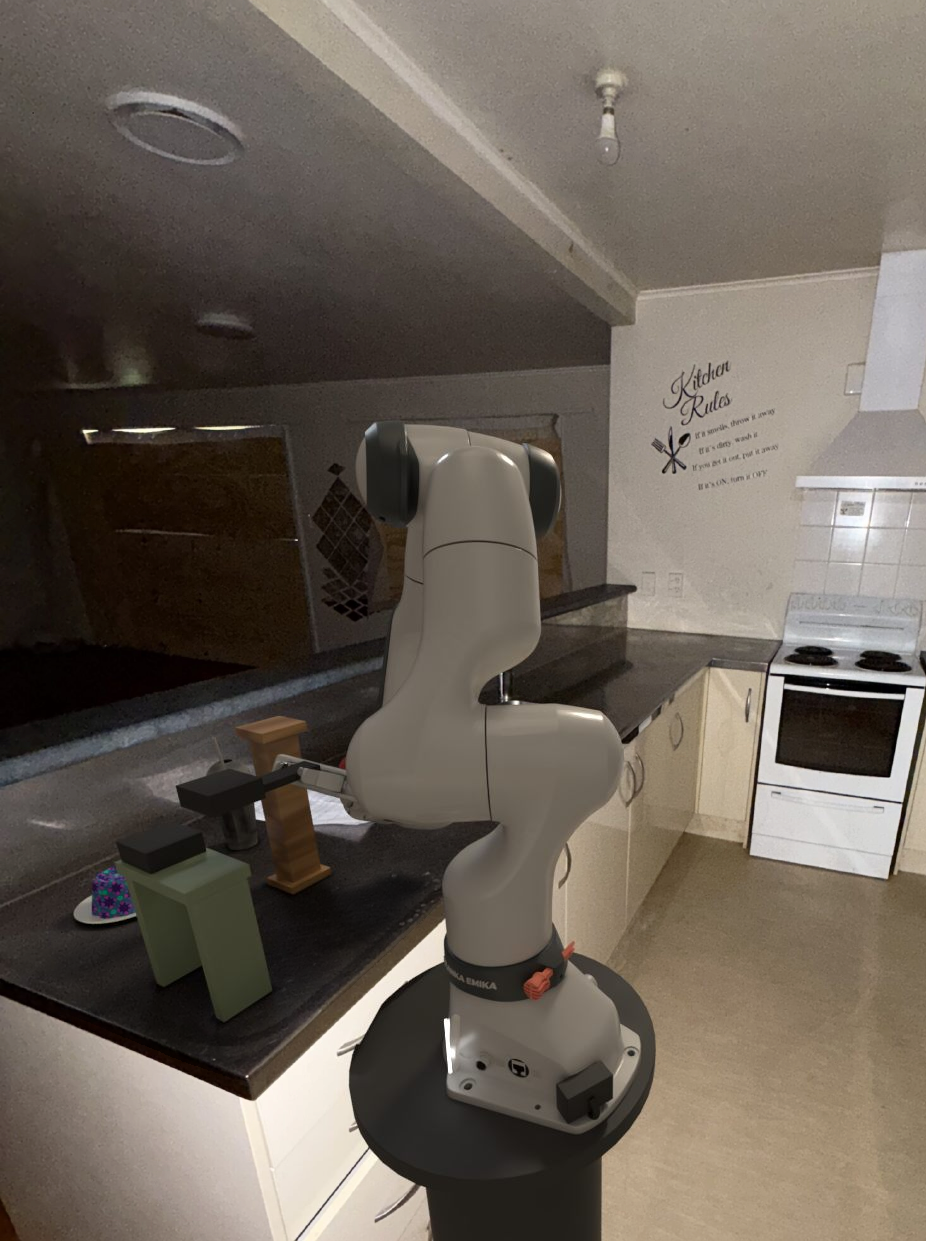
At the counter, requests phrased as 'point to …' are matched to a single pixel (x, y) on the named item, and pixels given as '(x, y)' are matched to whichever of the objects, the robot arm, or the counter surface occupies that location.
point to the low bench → (202, 927)
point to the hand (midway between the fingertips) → (288, 771)
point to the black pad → (234, 789)
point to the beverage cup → (240, 821)
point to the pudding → (106, 900)
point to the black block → (161, 847)
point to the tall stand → (285, 806)
